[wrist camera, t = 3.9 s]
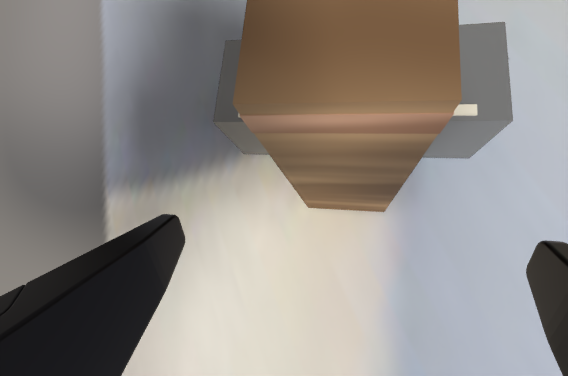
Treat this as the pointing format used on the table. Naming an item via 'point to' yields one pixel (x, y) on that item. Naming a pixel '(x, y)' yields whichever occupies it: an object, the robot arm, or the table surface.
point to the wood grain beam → (348, 92)
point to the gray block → (467, 116)
